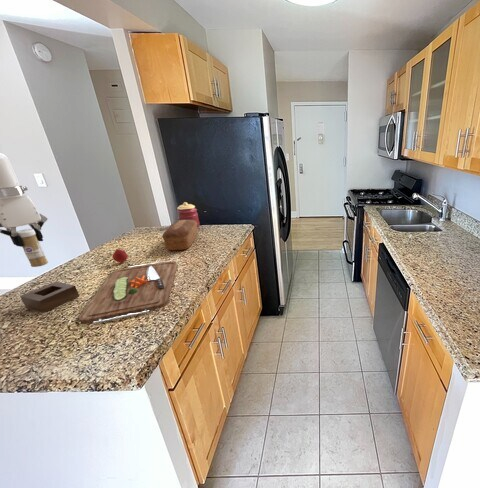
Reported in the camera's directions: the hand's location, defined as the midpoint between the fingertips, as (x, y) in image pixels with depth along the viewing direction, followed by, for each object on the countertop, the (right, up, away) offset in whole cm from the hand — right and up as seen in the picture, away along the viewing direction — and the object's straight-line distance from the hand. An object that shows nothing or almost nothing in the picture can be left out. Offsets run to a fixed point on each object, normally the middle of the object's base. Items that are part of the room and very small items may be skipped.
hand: (29, 242), depth 93 cm
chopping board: (+27, -19, +16) cm, 37 cm away
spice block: (+1, -23, +7) cm, 24 cm away
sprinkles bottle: (0, -8, +3) cm, 9 cm away
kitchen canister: (+9, +12, +93) cm, 94 cm away
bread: (+21, 0, +64) cm, 67 cm away
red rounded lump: (+3, -10, +39) cm, 40 cm away
